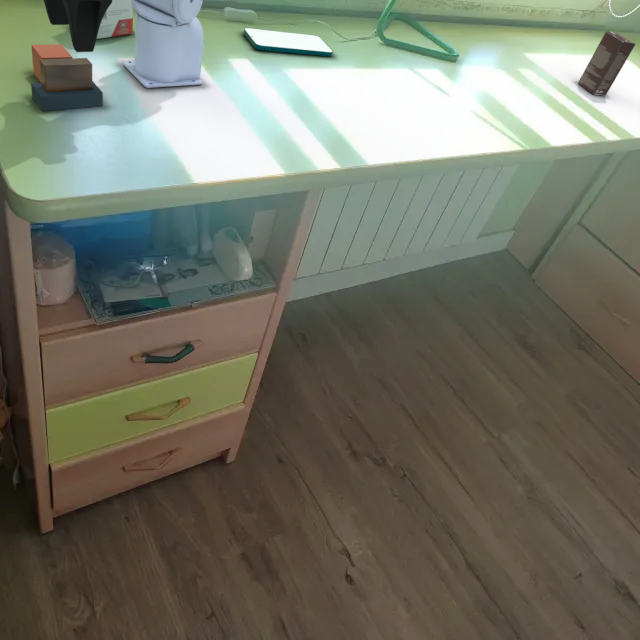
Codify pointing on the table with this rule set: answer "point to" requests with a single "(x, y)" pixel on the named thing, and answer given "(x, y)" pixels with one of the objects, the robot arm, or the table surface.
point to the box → (606, 63)
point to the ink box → (117, 19)
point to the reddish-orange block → (47, 55)
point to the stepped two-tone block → (66, 85)
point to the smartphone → (287, 42)
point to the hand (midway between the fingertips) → (71, 37)
